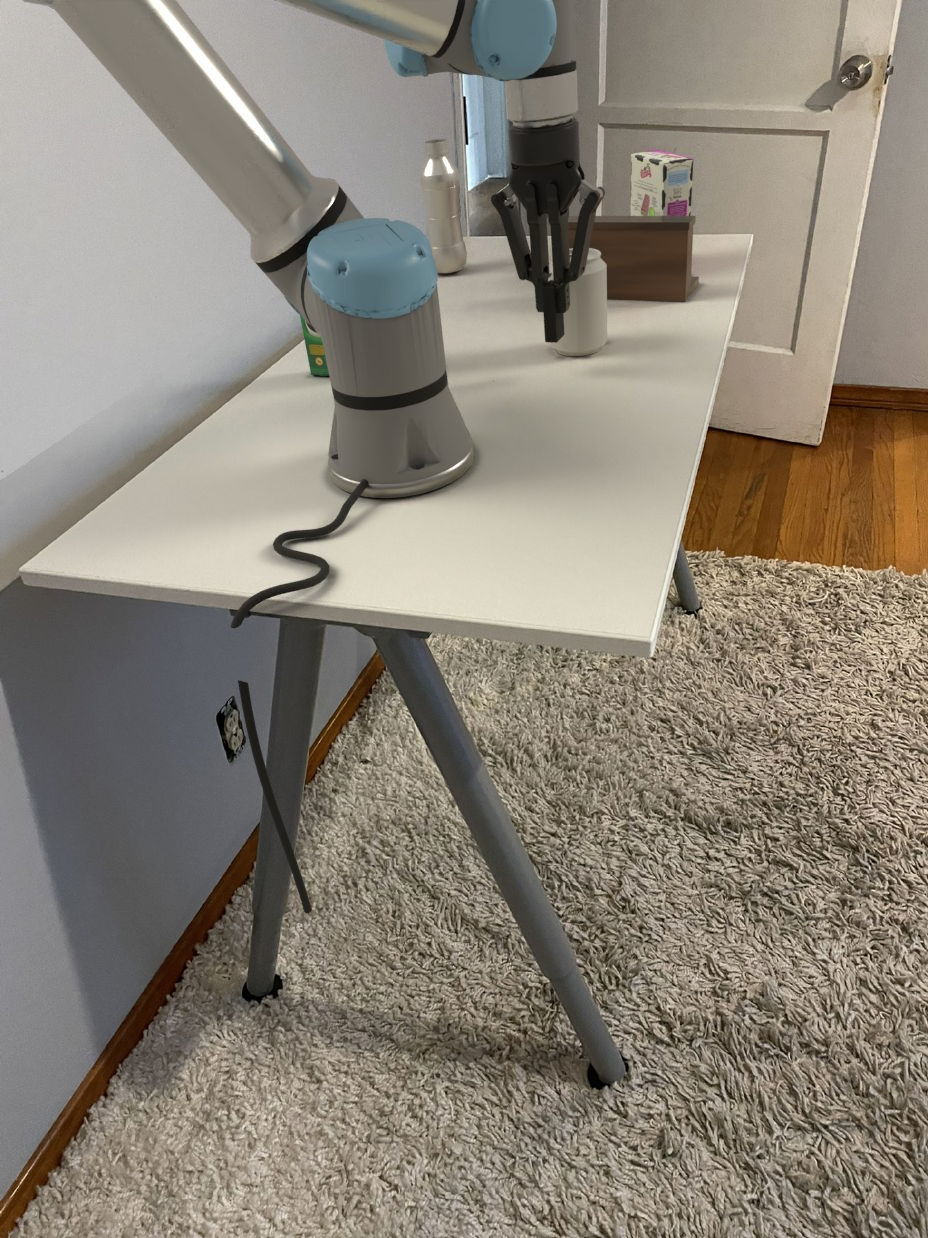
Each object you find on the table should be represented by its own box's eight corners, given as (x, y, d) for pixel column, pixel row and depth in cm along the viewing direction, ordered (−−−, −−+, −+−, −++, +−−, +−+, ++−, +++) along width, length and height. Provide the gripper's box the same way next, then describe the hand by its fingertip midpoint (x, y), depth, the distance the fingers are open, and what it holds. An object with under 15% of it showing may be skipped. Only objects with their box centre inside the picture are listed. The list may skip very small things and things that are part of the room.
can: (606, 336, 122) (605, 242, 115) (608, 356, 116) (607, 258, 109) (550, 340, 123) (545, 247, 116) (549, 360, 117) (544, 263, 110)
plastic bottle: (423, 272, 157) (407, 142, 145) (459, 263, 159) (446, 135, 147) (438, 280, 152) (423, 146, 140) (475, 271, 154) (463, 139, 142)
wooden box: (686, 302, 130) (689, 222, 124) (564, 298, 137) (561, 221, 131) (700, 284, 136) (703, 207, 130) (582, 281, 143) (580, 207, 137)
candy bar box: (690, 275, 140) (695, 157, 131) (660, 281, 139) (663, 162, 130) (656, 258, 149) (658, 147, 139) (628, 264, 148) (628, 152, 139)
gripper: (613, 109, 97) (616, 329, 111) (500, 116, 102) (517, 325, 116) (590, 123, 92) (596, 352, 106) (472, 129, 97) (493, 346, 111)
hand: (554, 338), depth 111 cm, fingers closed
